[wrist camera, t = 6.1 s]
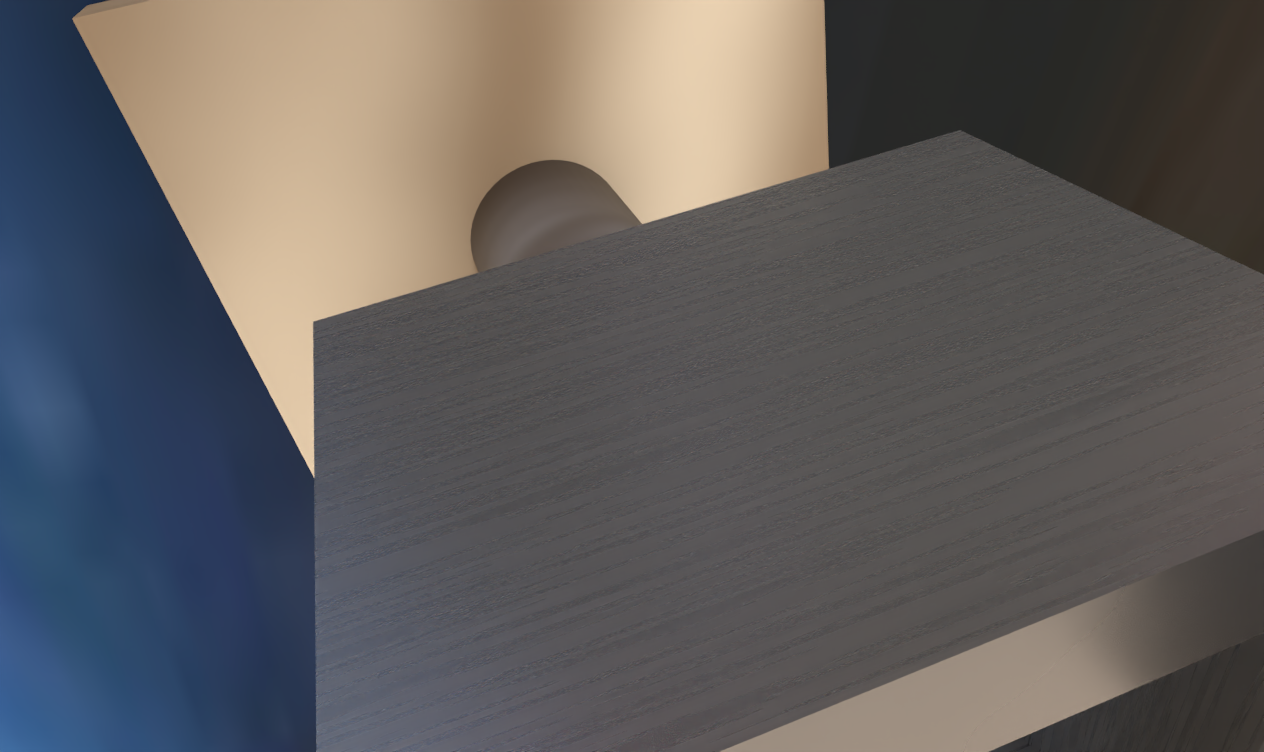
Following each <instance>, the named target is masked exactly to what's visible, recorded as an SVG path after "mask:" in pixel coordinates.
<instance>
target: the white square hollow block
mask: <svg viewBox="0 0 1264 752" xmlns="http://www.w3.org/2000/svg"><path fill="white" fill-rule="evenodd" d="M313 377H314V499H315V621H316V744H317V752H1264V275H1263V274H1261V273H1259V272H1257V271H1254V270H1252V269H1250V268H1248V267H1246V266H1244V265H1242V264H1240V263H1238V262H1236V261H1233V260H1231V259H1229V258H1227V257H1225V256H1223V255H1221V254H1219V253H1217V252H1215V251H1212V250H1210V249H1208V248H1206V247H1204V246H1202V245H1200V244H1198V243H1196V242H1194V241H1192V240H1189V239H1187V238H1185V237H1183V236H1181V235H1179V234H1177V233H1175V232H1173V231H1171V230H1168V229H1166V228H1164V227H1162V226H1160V225H1158V224H1156V223H1154V222H1152V221H1150V220H1147V219H1145V218H1143V217H1141V216H1139V215H1137V214H1135V213H1133V212H1131V211H1129V210H1126V209H1124V208H1122V207H1120V206H1118V205H1116V204H1114V203H1112V202H1110V201H1108V200H1105V199H1103V198H1101V197H1099V196H1097V195H1095V194H1093V193H1091V192H1089V191H1087V190H1084V189H1082V188H1080V187H1078V186H1076V185H1074V184H1072V183H1070V182H1068V181H1066V180H1063V179H1061V178H1059V177H1057V176H1055V175H1053V174H1051V173H1049V172H1047V171H1045V170H1043V169H1040V168H1038V167H1036V166H1034V165H1032V164H1030V163H1028V162H1026V161H1024V160H1022V159H1019V158H1017V157H1015V156H1013V155H1011V154H1009V153H1007V152H1005V151H1003V150H1001V149H998V148H996V147H994V146H992V145H990V144H988V143H986V142H984V141H982V140H980V139H977V138H975V137H973V136H971V135H969V134H967V133H965V132H963V131H961V130H959V131H955V132H952V133H949V134H945V135H942V136H938V137H935V138H932V139H928V140H925V141H922V142H918V143H915V144H911V145H908V146H905V147H901V148H898V149H895V150H891V151H888V152H884V153H881V154H878V155H874V156H871V157H867V158H864V159H861V160H857V161H854V162H851V163H847V164H844V165H840V166H837V167H834V168H830V169H827V170H824V171H820V172H817V173H813V174H810V175H807V176H803V177H800V178H797V179H793V180H790V181H786V182H783V183H780V184H776V185H773V186H770V187H766V188H763V189H759V190H756V191H753V192H749V193H746V194H743V195H739V196H736V197H732V198H729V199H726V200H722V201H719V202H716V203H712V204H709V205H705V206H702V207H699V208H695V209H692V210H689V211H685V212H682V213H678V214H675V215H672V216H668V217H665V218H661V219H658V220H655V221H651V222H648V223H645V224H641V225H638V226H634V227H631V228H628V229H624V230H621V231H618V232H614V233H611V234H607V235H604V236H601V237H597V238H594V239H591V240H587V241H584V242H580V243H577V244H574V245H570V246H567V247H564V248H560V249H557V250H553V251H550V252H547V253H543V254H540V255H537V256H533V257H530V258H526V259H523V260H520V261H516V262H513V263H510V264H506V265H503V266H499V267H496V268H493V269H489V270H486V271H483V272H479V273H476V274H472V275H469V276H466V277H462V278H459V279H455V280H452V281H449V282H445V283H442V284H439V285H435V286H432V287H428V288H425V289H422V290H418V291H415V292H412V293H408V294H405V295H401V296H398V297H395V298H391V299H388V300H385V301H381V302H378V303H374V304H371V305H368V306H364V307H361V308H358V309H354V310H351V311H347V312H344V313H341V314H337V315H334V316H331V317H327V318H324V319H320V320H317V321H314V322H313Z"/></svg>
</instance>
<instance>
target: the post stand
mask: <svg viewBox="0 0 1264 752" xmlns="http://www.w3.org/2000/svg"><path fill="white" fill-rule="evenodd" d="M72 19H73V21H74V23H75V25H76V27H77V29H78V31H79V33H80V34H81V36H82V38H83V40H84V42H85V44H86V46H87V48H88V50H89V52H90V53H91V55H92V57H93V59H94V61H95V63H96V65H97V67H98V69H99V70H100V72H101V74H102V76H103V78H104V80H105V82H106V84H107V86H108V88H109V89H110V91H111V93H112V95H113V97H114V99H115V101H116V103H117V105H118V107H119V108H120V110H121V112H122V114H123V116H124V118H125V120H126V122H127V124H128V125H129V127H130V129H131V131H132V133H133V135H134V137H135V139H136V141H137V143H138V144H139V146H140V148H141V150H142V152H143V154H144V156H145V158H146V160H147V162H148V163H149V165H150V167H151V169H152V171H153V173H154V175H155V177H156V179H157V180H158V182H159V184H160V186H161V188H162V190H163V192H164V194H165V196H166V198H167V199H168V201H169V203H170V205H171V207H172V209H173V211H174V213H175V215H176V217H177V218H178V220H179V222H180V224H181V226H182V228H183V230H184V232H185V234H186V235H187V237H188V239H189V241H190V243H191V245H192V247H193V249H194V251H195V253H196V254H197V256H198V258H199V260H200V262H201V264H202V266H203V268H204V270H205V272H206V273H207V275H208V277H209V279H210V281H211V283H212V285H213V287H214V289H215V290H216V292H217V294H218V296H219V298H220V300H221V302H222V304H223V306H224V308H225V309H226V311H227V313H228V315H229V317H230V319H231V321H232V323H233V325H234V326H235V328H236V330H237V332H238V334H239V336H240V338H241V340H242V342H243V344H244V345H245V347H246V349H247V351H248V353H249V355H250V357H251V359H252V361H253V363H254V364H255V366H256V368H257V370H258V372H259V374H260V376H261V378H262V380H263V381H264V383H265V385H266V387H267V389H268V391H269V393H270V395H271V397H272V399H273V400H274V402H275V404H276V406H277V408H278V410H279V412H280V414H281V416H282V418H283V419H284V421H285V423H286V425H287V427H288V429H289V431H290V433H291V435H292V436H293V438H294V440H295V442H296V444H297V446H298V448H299V450H300V452H301V454H302V455H303V457H304V459H305V461H306V463H307V465H308V467H309V469H310V471H311V473H312V474H313V476H314V377H313V322H314V321H317V320H320V319H324V318H327V317H331V316H334V315H337V314H341V313H344V312H347V311H351V310H354V309H358V308H361V307H364V306H368V305H371V304H374V303H378V302H381V301H385V300H388V299H391V298H395V297H398V296H401V295H405V294H408V293H412V292H415V291H418V290H422V289H425V288H428V287H432V286H435V285H439V284H442V283H445V282H449V281H452V280H455V279H459V278H462V277H466V276H469V275H472V274H476V273H479V272H483V271H486V270H489V269H493V268H496V267H499V266H503V265H506V264H510V263H513V262H516V261H520V260H523V259H526V258H530V257H533V256H537V255H540V254H543V253H547V252H550V251H553V250H557V249H560V248H564V247H567V246H570V245H574V244H577V243H580V242H584V241H587V240H591V239H594V238H597V237H601V236H604V235H607V234H611V233H614V232H618V231H621V230H624V229H628V228H631V227H634V226H638V225H641V224H645V223H648V222H651V221H655V220H658V219H661V218H665V217H668V216H672V215H675V214H678V213H682V212H685V211H689V210H692V209H695V208H699V207H702V206H705V205H709V204H712V203H716V202H719V201H722V200H726V199H729V198H732V197H736V196H739V195H743V194H746V193H749V192H753V191H756V190H759V189H763V188H766V187H770V186H773V185H776V184H780V183H783V182H786V181H790V180H793V179H797V178H800V177H803V176H807V175H810V174H813V173H817V172H820V171H824V170H827V169H829V161H828V124H827V87H826V51H825V14H824V0H109V1H105V2H100V3H96V4H91V5H87V6H86V7H85V8H84V9H83V10H82V11H80V12H79V13H78V14H77V15H76V16H75V17H73V18H72Z"/></svg>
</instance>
